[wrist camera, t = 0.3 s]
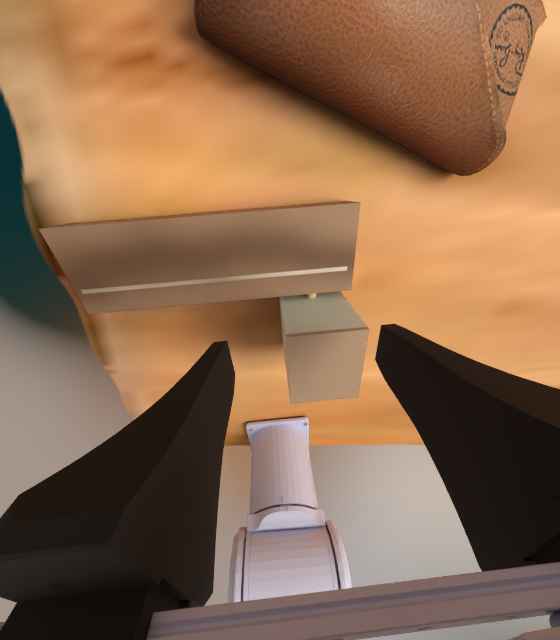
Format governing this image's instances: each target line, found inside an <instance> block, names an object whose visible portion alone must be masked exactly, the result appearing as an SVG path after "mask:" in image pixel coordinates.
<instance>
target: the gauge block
mask: <svg viewBox="0 0 560 640" xmlns="http://www.w3.org/2000/svg"><path fill="white" fill-rule="evenodd" d="M279 299H280V312H281V325H282V338H283V348H284V356H285V364H286V371H287V379H288V387H289V394H290V402H291V404H298V403H307V402H317V401H327V400H337V399H347V398H356V397H358V395H359V389H360V383H361V377H362V370H363V364H364V358H365V352H366V346H367V340H368V334H369V328H368V327H367V326H366V325H365V323H364V322H363V321H362V319H361V318H360V317H359V315H358V314H357V313H356V311H355V310H354V309H353V307H352V306H351V305H350V304H349V302H348V301H347V300H346V298H345V297H344V296H343V294H342V293H341V292H340V291H337V292H326V293H315V294H304V295H293V296H282V297H279Z"/></svg>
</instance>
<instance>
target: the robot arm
mask: <svg viewBox="0 0 560 640" xmlns="http://www.w3.org/2000/svg"><path fill="white" fill-rule="evenodd" d="M375 360H376V362H377V364H378V367H379V369H380V371H381V373H382V375H383V377H384V379H385V380H386V382H387V384H388V385H389V387H390V388H391V390H392V391H393V393H394V395H395V396H396V398H397V399H398V401H399V402H400V404H401V405H402V407H403V408H404V410H405V411H406V413H407V414H408V416H409V417H410V419H411V420H412V422H413V424H414V425H415V427H416V429H417V431H418V432H419V434H420V436H421V438H422V440H423V442H424V444H425V446H426V448H427V450H428V451H429V453H430V455H431V457H432V460H433V461H434V463H435V466H436V467H437V470H438V472H439V474H440V476H441V478H442V480H443V482H444V484H445V486H446V489H447V491H448V493H449V495H450V498H451V500H452V502H453V504H454V506H455V509H456V511H457V513H458V516H459V518H460V520H461V523H462V525H463V527H464V529H465V532H466V535H467V537H468V539H469V542H470V544H471V547H472V549H473V552H474V554H475V557H476V559H477V562H478V564H479V566H480V568H481V570H482V572H476V573H468V574H460V575H451V576H443V577H436V578H428V579H420V580H411V581H404V582H395V583H387V584H379V585H371V586H363V587H355V588H352V585H351V578H350V572H349V566H348V561H347V558H346V553H345V549H344V545H343V542H342V539H341V537H340V534H339V532H338V530H337V529H336V528H335V527H334V526H333V524H332V523H331V522H330V521H325V519H324V514H323V510H318V504H317V499H316V493H315V487H314V481H313V475H312V470H311V464H310V459H309V420H308V418H307V417H298V418H289V419H279V420H269V421H260V422H250V423H247V424H246V430H247V434H248V438H249V442H250V447H251V451H252V466H251V491H250V515H248V516H247V530H246V527H241V528H240V529H239V532H238V533H237V534H236V535H235V537H234V540H233V546H232V554H231V564H230V575H229V589H228V603H227V604H218V605H211V606H204V605H205V604H206V602H207V601H208V599H209V598H210V596H211V595H212V593H213V581H214V561H215V542H216V541H215V540H216V527H217V511H218V499H219V487H220V475H221V466H222V456H223V448H224V442H225V437H226V431H227V426H228V421H229V416H230V411H231V406H232V401H233V395H234V384H235V371H234V367H233V363H232V359H231V355H230V351H229V347H228V342H227V341H221V342H214V343H213V344H212V345H211V346H210V347H209V348H208V349H207V351H206V352H205V353H204V354H203V355H202V356H201V358H200V359H199V360H198V361H197V362H196V363H195V364H194V365H193V367H192V368H191V369H190V370H189V371H188V372H187V373H186V374H185V375H184V376H183V377H182V378H181V379H180V380H179V381H178V382H177V383H176V384H175V385H174V386H173V387H172V388H171V389H170V390H169V391H168V392H167V393H166V394H165V395H164V396H163V397H162V398H160V399H159V400H158V401H157V402H156V403H155V404H153V405H152V406H151V407H150V408H149V409H148V410H146V411H145V412H144V413H143V414H141V415H140V416H139V417H137V418H136V419H135V420H133V421H132V422H131V423H130V424H128V425H127V426H126V427H124V428H123V429H122V430H120V431H119V432H118V433H116V434H115V435H113V436H112V437H111V438H109V439H108V440H106V441H105V442H103V443H102V444H101V445H99V446H98V447H96V448H95V449H93V450H92V451H90V452H89V453H87V454H85V455H84V456H83V457H81V458H79V459H78V460H76V461H75V462H73V463H72V464H70V465H69V466H67V467H65V468H63V469H62V470H60V471H58V472H57V473H55V474H53V475H52V476H50V477H48V478H47V479H45V480H43V481H42V482H40V483H38V484H37V485H35V486H33V487H32V488H30V489H28V490H27V491H25V492H23V493H21V494H20V495H19V496H18V497H17V498H16V499H15V501H14V502H13V503H12V504H11V506H10V507H9V508H8V509H7V511H6V512H5V513H4V514H3V515H2V517H1V518H0V597H2V598H5V599H8V600H11V601H14V602H17V604H16V605H15V607H14V609H13V611H12V612H11V614H10V616H9V617H8V619H7V620H6V622H5V623H4V622H0V640H357V639H364V638H372V637H380V636H388V635H395V634H402V633H411V632H418V631H426V630H434V629H442V628H450V627H457V626H465V625H473V624H480V623H489V622H496V621H504V620H511V619H520V618H527V617H535V616H543V615H550V620H549V621H550V625H551V628H549V629H543V630H537V631H532V632H526V633H523V634H521V635H519V636H518V637H515V638H512V639H509V640H560V389H557V388H553V387H550V386H547V385H543V384H540V383H537V382H534V381H531V380H527V379H524V378H521V377H518V376H515V375H512V374H509V373H506V372H504V371H501V370H498V369H496V368H493V367H490V366H487V365H485V364H482V363H480V362H477V361H475V360H472V359H470V358H468V357H465V356H463V355H461V354H458V353H456V352H454V351H451V350H449V349H447V348H445V347H443V346H441V345H439V344H436V343H434V342H432V341H430V340H428V339H426V338H424V337H422V336H420V335H418V334H416V333H414V332H412V331H410V330H407V329H405V328H403V327H401V326H399V325H396V324H388V325H381V330H380V335H379V341H378V346H377V352H376V358H375ZM551 614H552V615H551Z"/></svg>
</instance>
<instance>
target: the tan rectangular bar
mask: <svg viewBox="0 0 560 640" xmlns="http://www.w3.org/2000/svg"><path fill="white" fill-rule="evenodd" d="M359 210H360V203H359V202H352V201H340V202H328V203H316V204H303V205H291V206H279V207H267V208H255V209H242V210H230V211H218V212H206V213H194V214H181V215H169V216H157V217H145V218H133V219H120V220H108V221H96V222H84V223H72V224H65V225H59V226H53V227H48V228H42V229H39V230H40V232H41V234H42V235H43V237H44V239H45V241H46V242H47V244H48V246H49V247H50V249H51V251H52V252H53V254H54V256H55V258H56V259H57V261H58V263H59V264H60V266H61V268H62V270H63V271H64V273H65V275H66V276H67V278H68V280H69V282H70V283H71V285H72V287H73V288H74V290H75V292H76V294H77V295H78V297H79V299H80V300H81V302H82V304H83V305H84V307H85V309H86V311H87V312H88V314H95V313H106V312H117V311H128V310H139V309H150V308H161V307H172V306H183V305H194V304H205V303H216V302H227V301H238V300H249V299H260V298H271V297H282V296H293V295H304V294H315V293H326V292H337V291H348V290H351V288H352V278H353V268H354V259H355V249H356V239H357V229H358V220H359Z"/></svg>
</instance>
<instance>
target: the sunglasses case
mask: <svg viewBox="0 0 560 640" xmlns="http://www.w3.org/2000/svg"><path fill="white" fill-rule="evenodd" d="M194 5H195V9H194V12H195V19H196V26H197V30H198V33H199V34H200V36H201V37H202V38H203V39H206V40H207V41H209V42H210V43H212V44H213V45H215V46H217V47H218V48H220V49H222V50H223V51H225V52H227V53H229V54H231V55H233V56H235V57H236V58H238V59H240V60H242V61H244V62H246V63H248V64H250V65H252V66H254V67H256V68H258V69H259V70H261V71H263V72H266V73H268V74H270V75H272V76H274V77H276V78H278V79H279V80H281V81H282V82H284V83H286V84H288V85H290V86H292V87H294V88H296V89H298V90H299V91H301V92H303V93H305V94H307V95H309V96H310V97H312V98H314V99H316V100H318V101H320V102H322V103H324V104H326V105H328V106H330V107H332V108H334V109H336V110H338V111H339V112H341V113H343V114H345V115H346V116H348V117H351V118H353V119H355V120H357V121H359V122H361V123H362V124H364V125H366V126H368V127H369V128H371V129H373V130H375V131H376V132H378V133H380V134H382V135H384V136H386V137H388V138H390V139H392V140H393V141H395V142H397V143H399V144H401V145H403V146H404V147H406V148H408V149H410V150H411V151H413V152H415V153H417V154H419V155H421V156H422V157H424V158H425V159H427V160H429V161H430V162H432V163H433V164H435V165H437V166H439V167H441V168H443V169H445V170H447V171H449V172H452V173H454V174H456V175H460V176H469V175H472V174H474V173H477V172H479V171H481V170H483V169H484V168H486V167H487V166H488V165H490V164H491V163H492V162H493V161H494V160H495V159H496V158H497V157H498V156H499V154H500V153H501V151H502V150H503V148H504V145H505V142H506V130H505V126H506V123H507V120H508V117H509V114H510V111H511V108H512V104H513V102H514V99H515V96H516V93H517V90H518V86H519V83H520V81H521V78H522V74H523V72H524V68H525V65H526V62H527V59H528V56H529V53H530V50H531V46H532V43H533V40H534V37H535V33H536V31H537V29H538V28H539V27H541V26H542V24H543V22H544V21H545V20H546V18H547V16H546V14H545V9H544V6H543V2H542V1H541V0H195V3H194Z"/></svg>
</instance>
